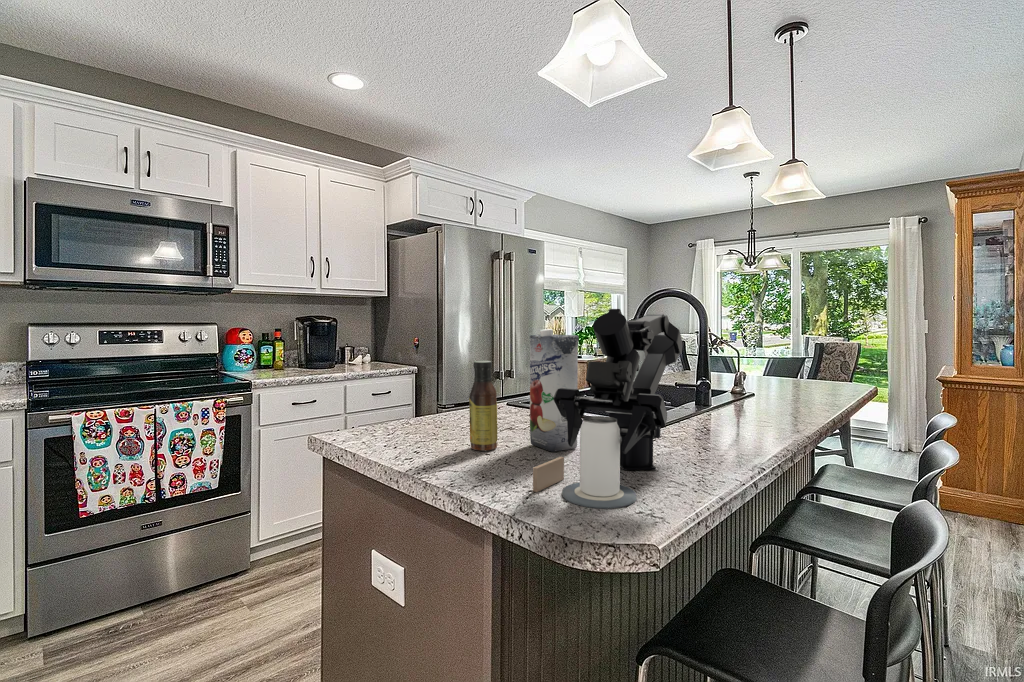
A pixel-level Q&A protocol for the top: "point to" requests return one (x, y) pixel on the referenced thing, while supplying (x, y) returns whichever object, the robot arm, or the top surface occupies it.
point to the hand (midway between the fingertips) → (596, 448)
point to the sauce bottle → (483, 409)
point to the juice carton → (551, 387)
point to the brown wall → (548, 474)
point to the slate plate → (579, 498)
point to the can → (600, 456)
